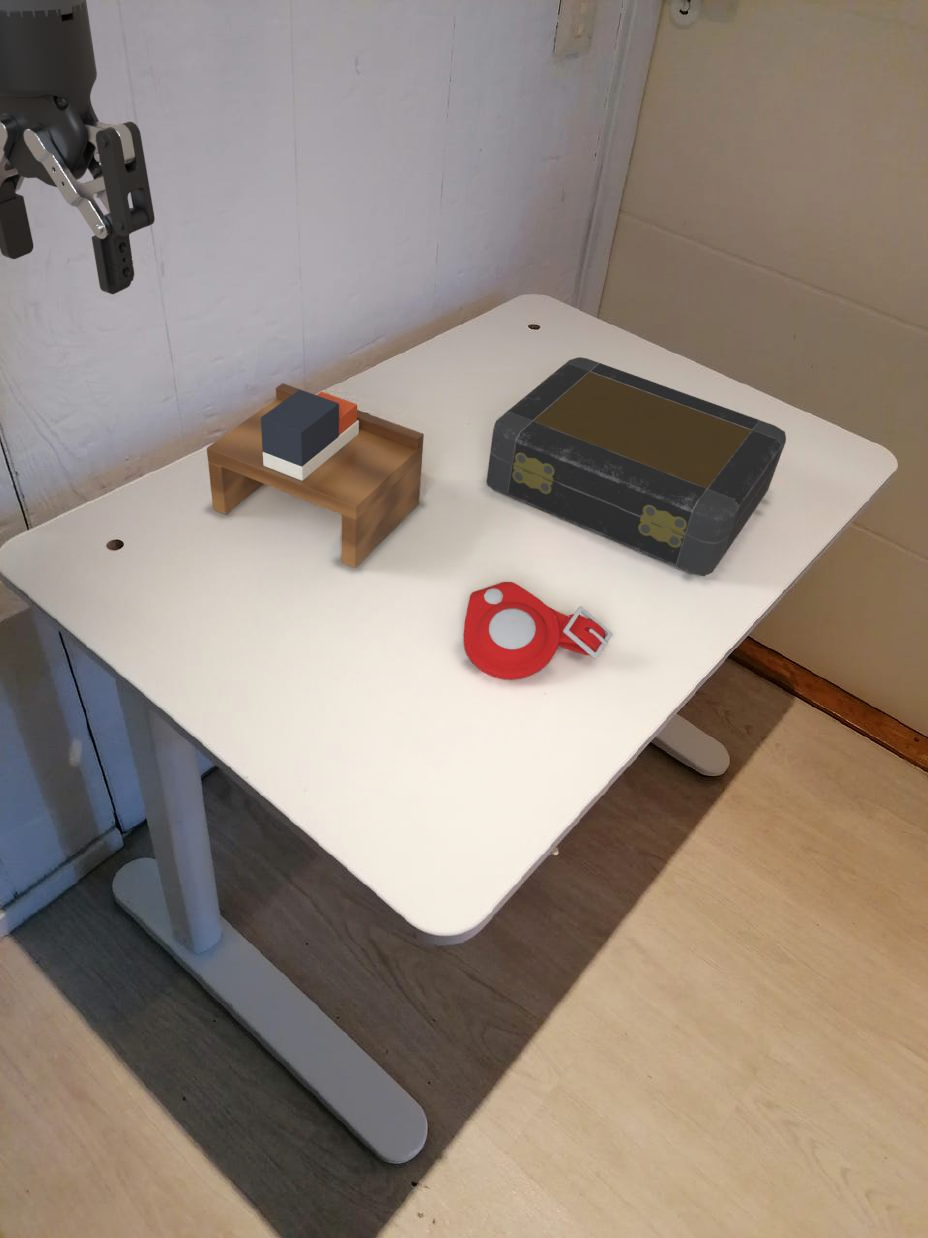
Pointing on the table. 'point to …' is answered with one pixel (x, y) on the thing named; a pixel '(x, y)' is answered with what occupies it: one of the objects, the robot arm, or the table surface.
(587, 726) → the table surface
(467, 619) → the tracker holder
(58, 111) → the robot arm
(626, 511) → the cash box
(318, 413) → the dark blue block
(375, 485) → the shoe shelf
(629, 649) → the table surface
